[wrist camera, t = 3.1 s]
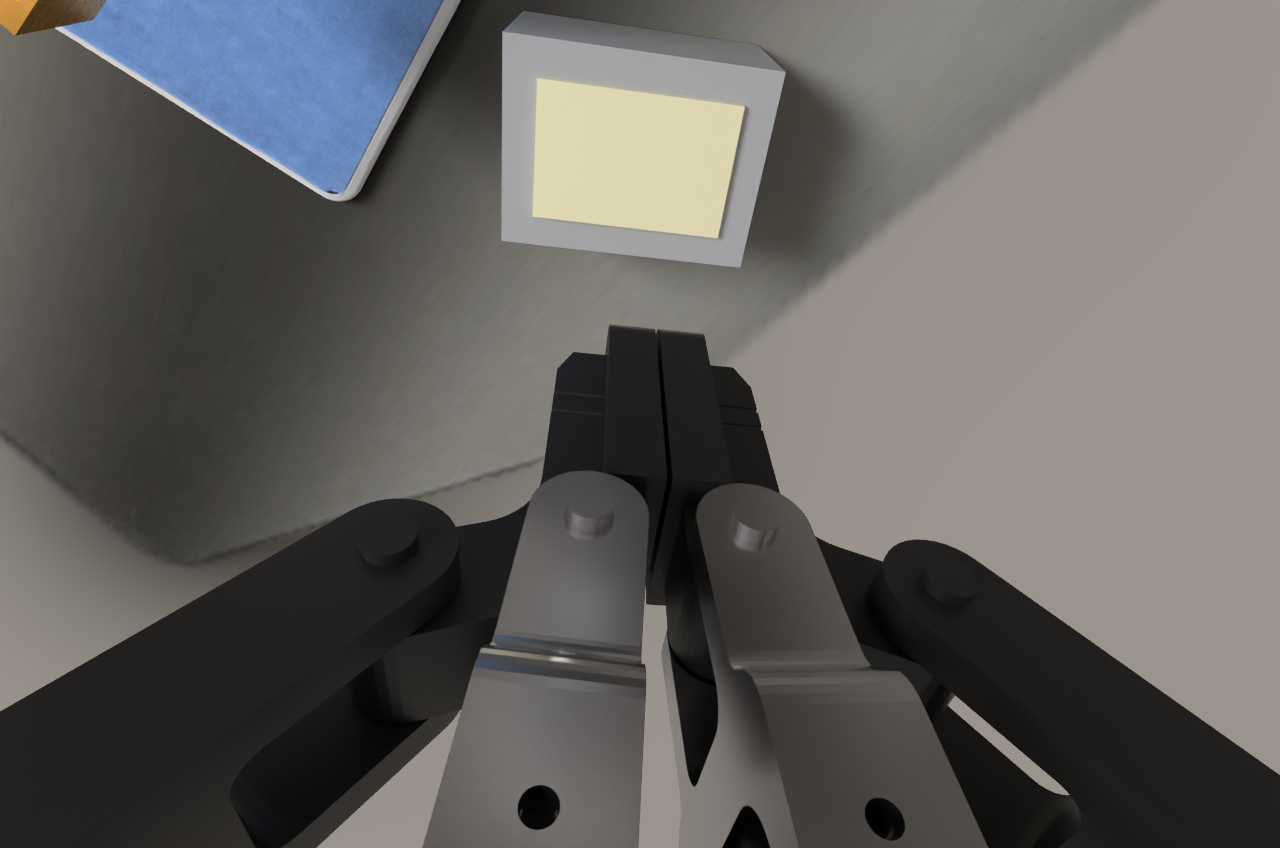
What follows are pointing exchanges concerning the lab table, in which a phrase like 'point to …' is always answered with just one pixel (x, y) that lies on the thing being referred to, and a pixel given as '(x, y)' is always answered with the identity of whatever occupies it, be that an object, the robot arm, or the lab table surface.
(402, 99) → the tablet computer
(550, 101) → the block
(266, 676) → the robot arm
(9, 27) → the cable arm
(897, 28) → the lab table surface
